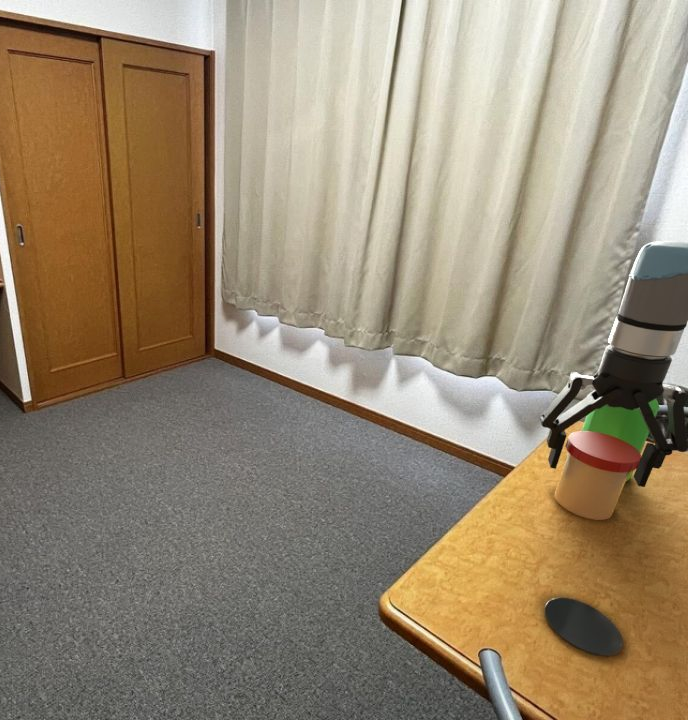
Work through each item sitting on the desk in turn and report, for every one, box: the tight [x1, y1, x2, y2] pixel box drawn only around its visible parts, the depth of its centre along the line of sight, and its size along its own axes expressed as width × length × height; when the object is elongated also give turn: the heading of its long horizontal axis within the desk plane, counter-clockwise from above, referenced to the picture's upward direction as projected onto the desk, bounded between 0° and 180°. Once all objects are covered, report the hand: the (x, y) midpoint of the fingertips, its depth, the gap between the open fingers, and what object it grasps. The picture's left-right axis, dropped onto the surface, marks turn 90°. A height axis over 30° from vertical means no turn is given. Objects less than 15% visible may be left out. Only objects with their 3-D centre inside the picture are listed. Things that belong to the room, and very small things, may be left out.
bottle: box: [581, 398, 660, 482], centre depth 85 cm, size 9×9×25 cm
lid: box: [564, 430, 642, 473], centre depth 77 cm, size 9×9×2 cm
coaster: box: [543, 597, 624, 657], centre depth 60 cm, size 8×8×1 cm
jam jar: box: [553, 451, 629, 521], centre depth 79 cm, size 8×8×12 cm
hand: (593, 472), depth 78 cm, fingers open, 11 cm apart
